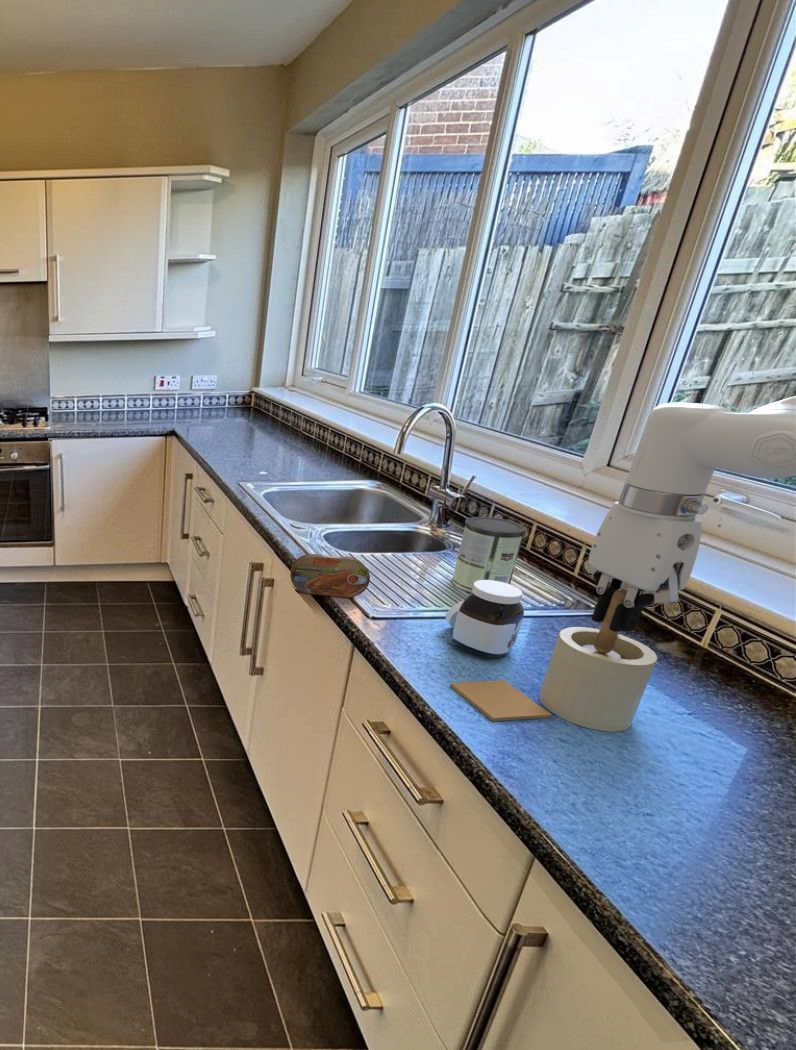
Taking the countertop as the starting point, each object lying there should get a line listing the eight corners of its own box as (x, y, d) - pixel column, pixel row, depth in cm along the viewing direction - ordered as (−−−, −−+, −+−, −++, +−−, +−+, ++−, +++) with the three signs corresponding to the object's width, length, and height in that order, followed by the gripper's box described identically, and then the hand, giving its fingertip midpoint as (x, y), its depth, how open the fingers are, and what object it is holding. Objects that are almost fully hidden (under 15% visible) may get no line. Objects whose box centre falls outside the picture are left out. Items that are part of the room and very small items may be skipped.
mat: (503, 682, 98) (504, 679, 98) (550, 717, 90) (551, 714, 90) (449, 686, 98) (450, 682, 97) (492, 721, 89) (493, 718, 89)
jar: (584, 686, 97) (606, 625, 93) (651, 729, 87) (679, 662, 83) (521, 690, 96) (540, 628, 92) (581, 734, 86) (606, 666, 82)
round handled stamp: (592, 667, 92) (624, 582, 87) (620, 684, 88) (655, 596, 83) (565, 668, 92) (595, 583, 86) (591, 685, 88) (625, 597, 82)
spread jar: (488, 665, 103) (506, 603, 99) (422, 636, 112) (435, 578, 108) (526, 647, 108) (545, 587, 104) (460, 621, 117) (475, 565, 113)
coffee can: (466, 572, 138) (482, 513, 133) (517, 589, 130) (536, 526, 125) (440, 582, 134) (455, 521, 128) (492, 600, 125) (510, 536, 120)
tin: (288, 592, 130) (293, 555, 127) (287, 585, 133) (292, 549, 130) (366, 600, 126) (373, 562, 123) (363, 594, 129) (371, 556, 126)
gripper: (755, 519, 73) (695, 654, 80) (627, 483, 88) (586, 599, 94) (696, 521, 72) (642, 656, 79) (578, 484, 87) (540, 601, 94)
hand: (612, 624), depth 87 cm, fingers closed on round handled stamp, 2 cm apart
